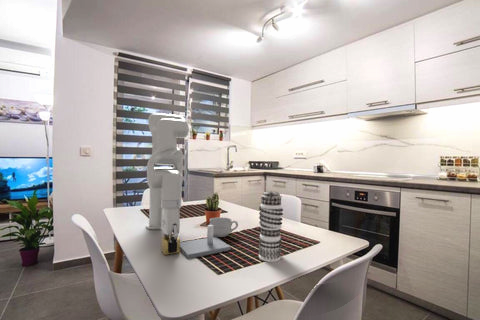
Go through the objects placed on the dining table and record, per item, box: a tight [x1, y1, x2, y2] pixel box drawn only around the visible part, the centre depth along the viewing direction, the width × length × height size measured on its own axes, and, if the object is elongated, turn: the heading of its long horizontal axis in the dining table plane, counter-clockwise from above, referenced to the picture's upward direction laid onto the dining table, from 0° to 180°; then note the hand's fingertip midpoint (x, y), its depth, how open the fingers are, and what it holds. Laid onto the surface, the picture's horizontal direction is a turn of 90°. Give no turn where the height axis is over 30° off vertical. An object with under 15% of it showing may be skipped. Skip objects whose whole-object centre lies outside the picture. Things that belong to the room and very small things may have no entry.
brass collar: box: [160, 236, 181, 256], centre depth 95 cm, size 6×6×5 cm
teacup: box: [209, 216, 239, 238], centre depth 117 cm, size 14×11×8 cm
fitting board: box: [180, 224, 231, 259], centre depth 100 cm, size 14×18×9 cm
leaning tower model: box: [258, 190, 284, 263], centre depth 93 cm, size 9×9×25 cm
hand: (170, 248), depth 95 cm, fingers closed on brass collar, 5 cm apart
